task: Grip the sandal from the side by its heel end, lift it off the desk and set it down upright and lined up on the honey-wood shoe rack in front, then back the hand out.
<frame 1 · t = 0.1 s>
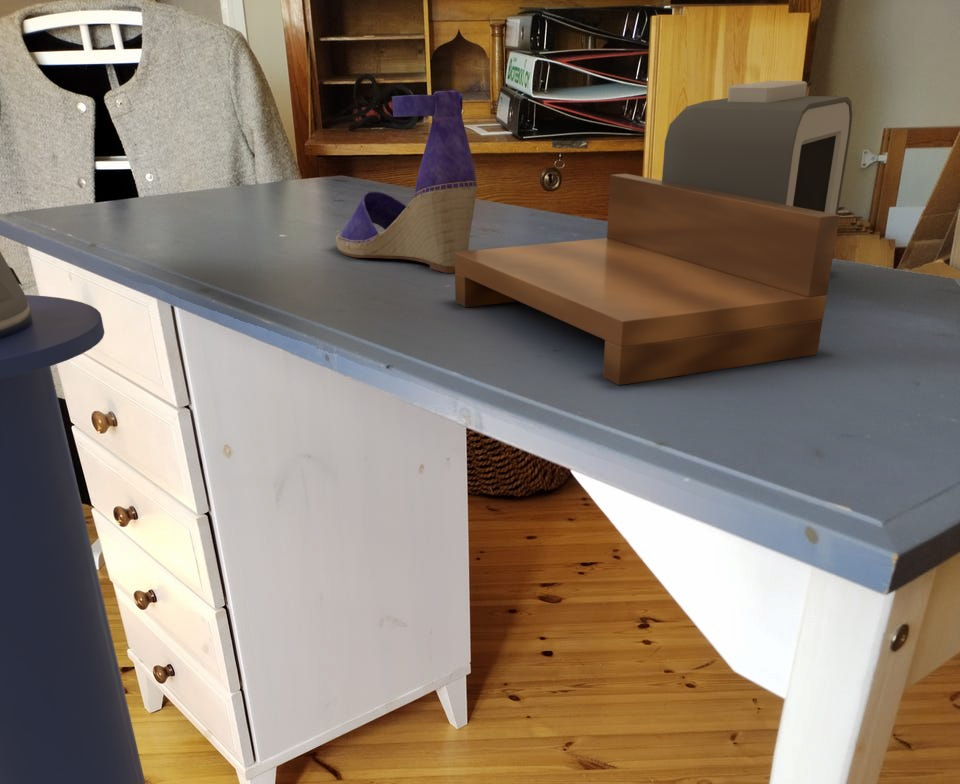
shoe rack: (619, 326, 77), on the table
alarm clock: (738, 283, 91), on the table
sandal: (402, 260, 101), on the table
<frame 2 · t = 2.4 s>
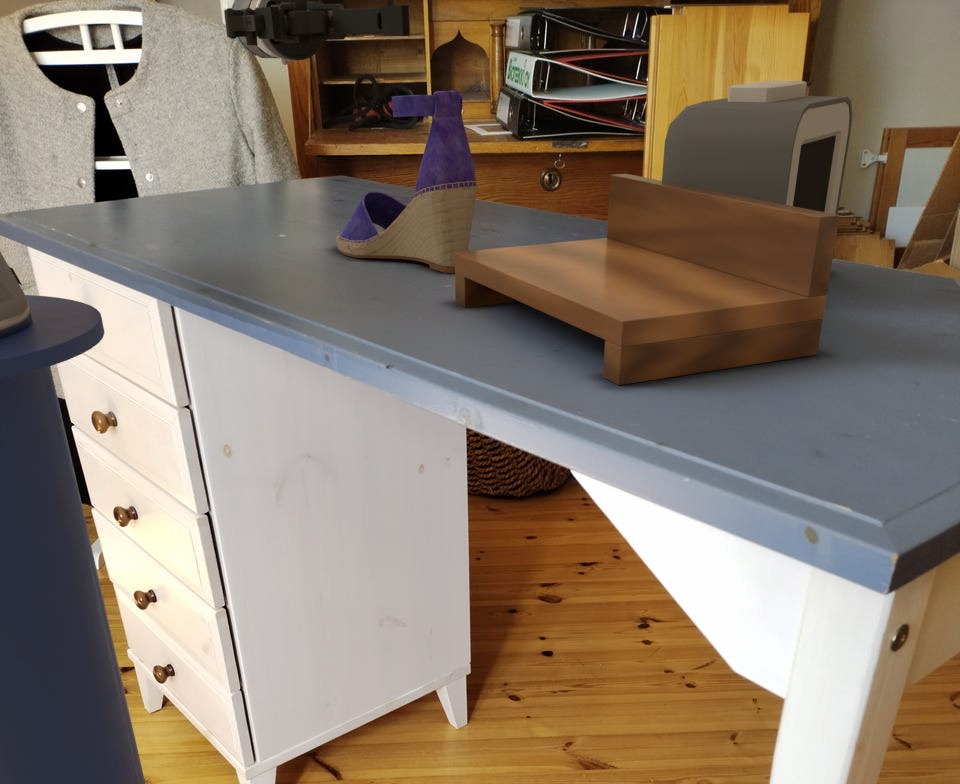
hand: (342, 21, 102), 20 cm above the table, tool horizontal, fingers open, 13 cm apart
nothing on the table moved.
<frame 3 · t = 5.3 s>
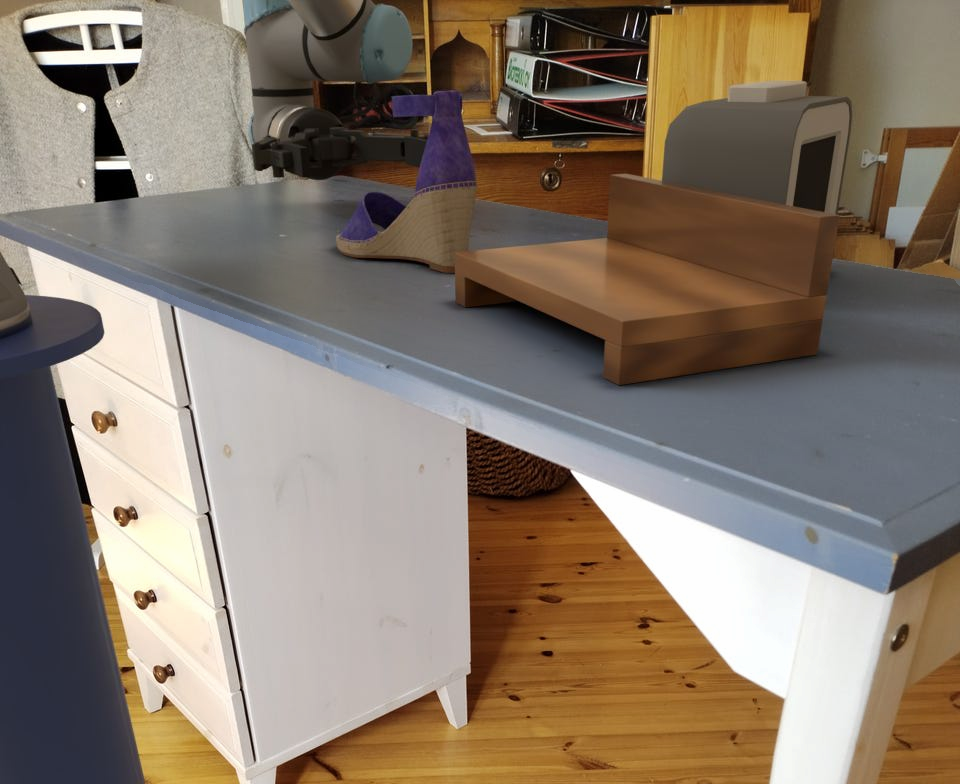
hand: (369, 159, 104), 8 cm above the table, tool horizontal, fingers open, 13 cm apart
nothing on the table moved.
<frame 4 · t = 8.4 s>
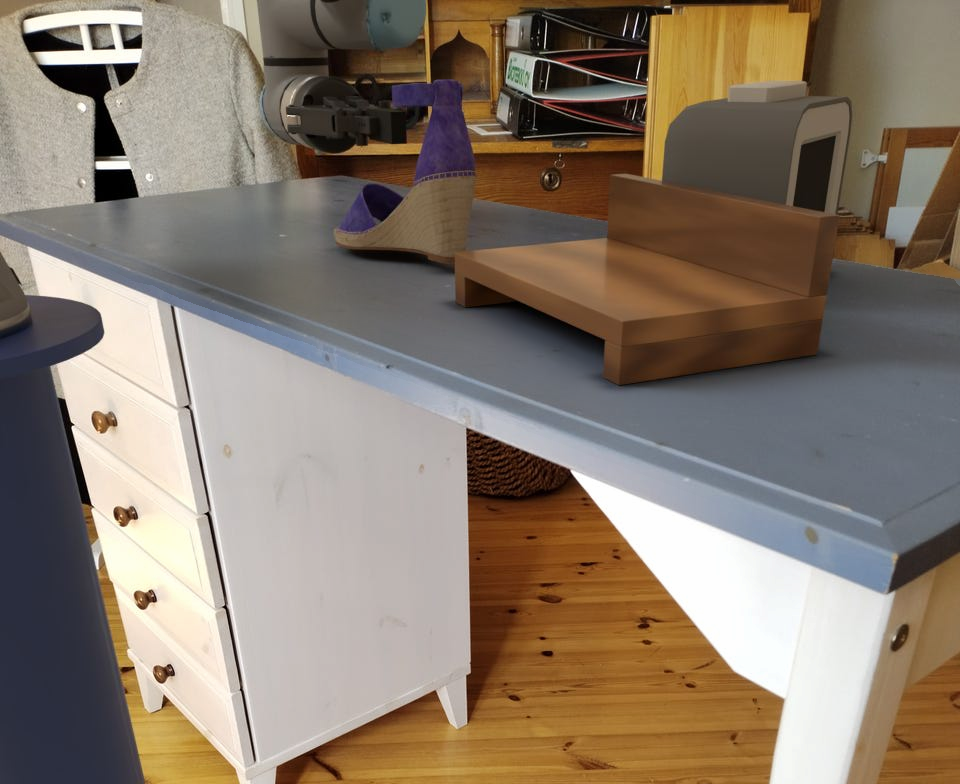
hand: (398, 127, 95), 12 cm above the table, tool horizontal, fingers closed
sandal: (400, 253, 101), point 1 cm above the table, touching gripper
everything else where it was.
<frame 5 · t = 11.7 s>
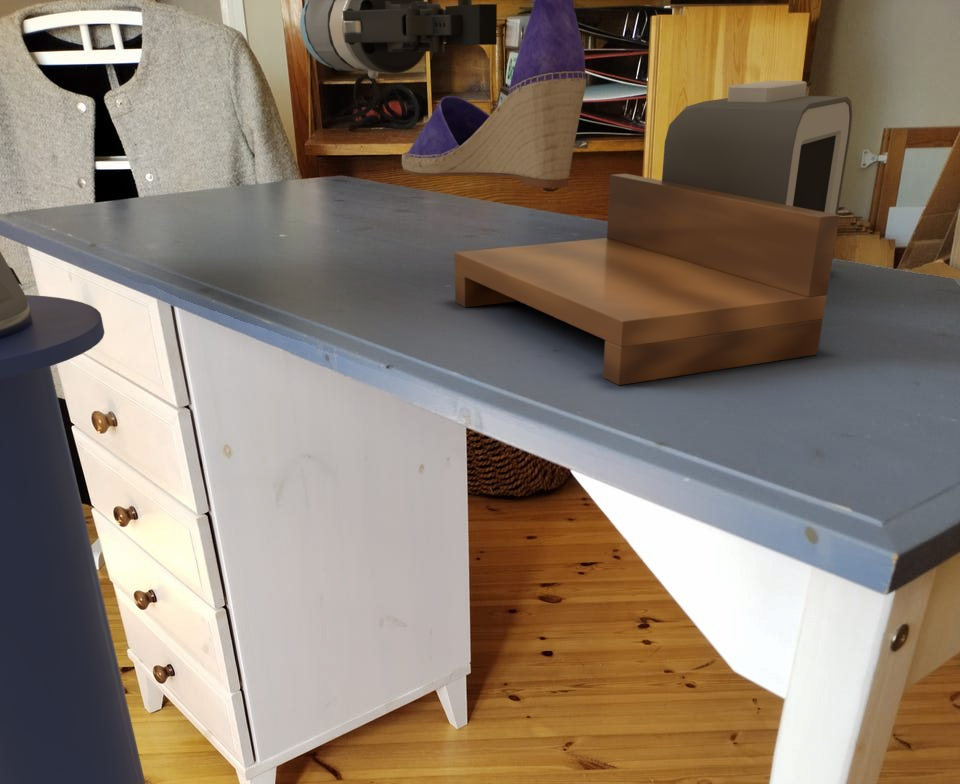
hand: (488, 24, 79), 20 cm above the table, tool horizontal, fingers closed
sandal: (485, 180, 85), point 9 cm above the table, touching gripper
everything else where it was.
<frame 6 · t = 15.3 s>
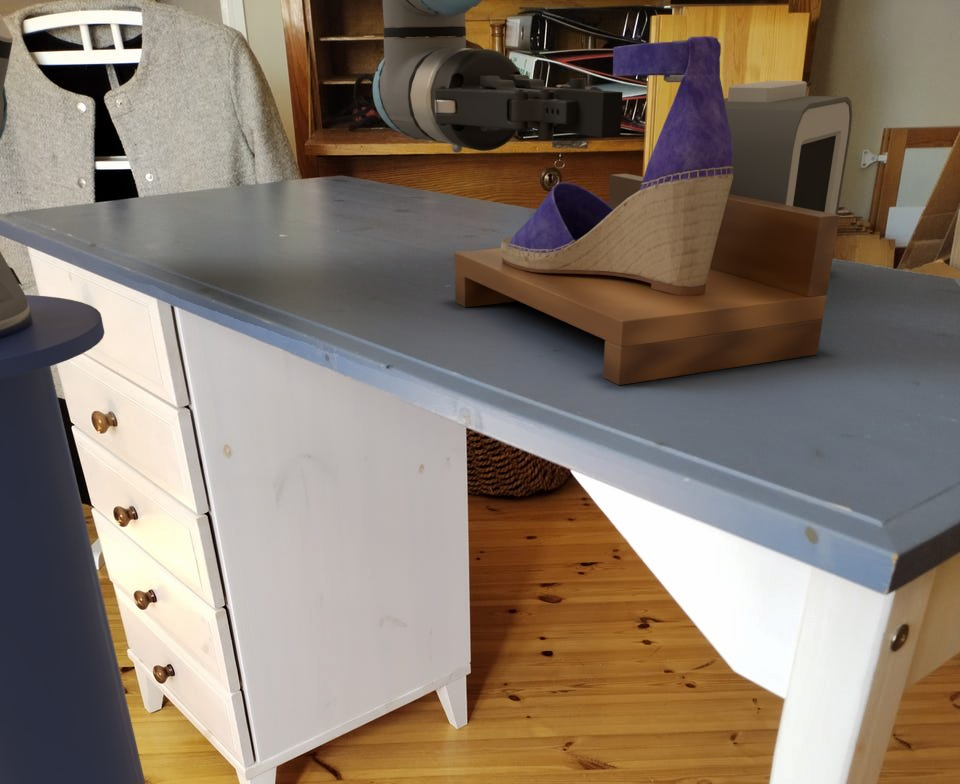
hand: (611, 114, 69), 14 cm above the table, tool horizontal, fingers closed
sandal: (601, 277, 74), point 4 cm above the table, touching shoe rack
everything else where it was.
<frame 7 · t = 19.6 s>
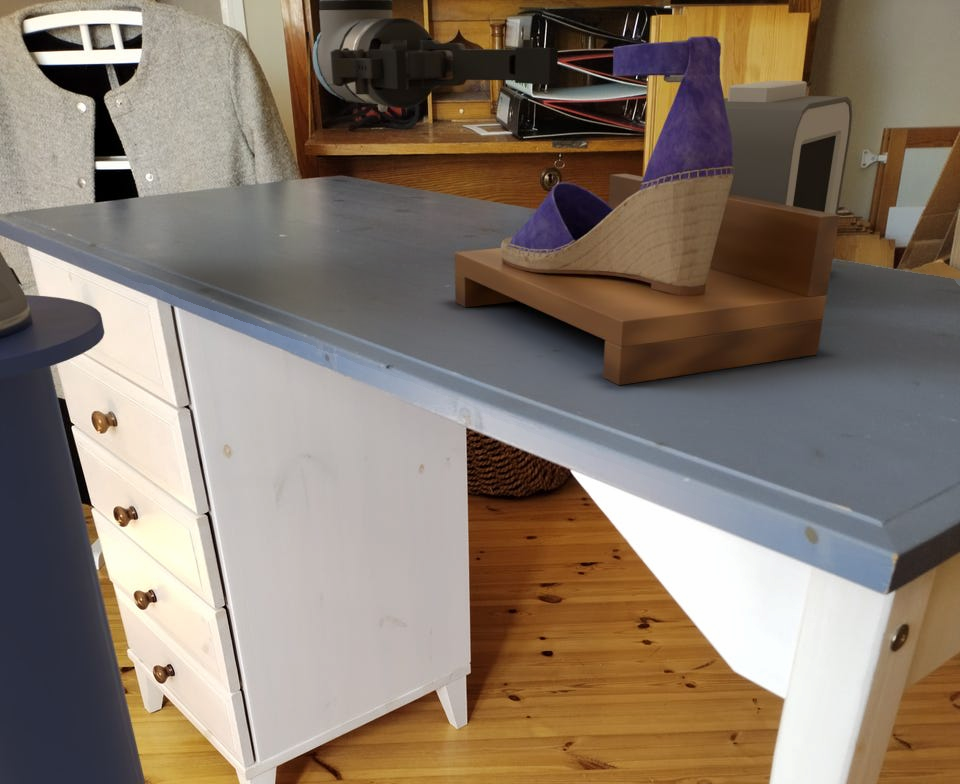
hand: (479, 68, 83), 17 cm above the table, tool horizontal, fingers open, 13 cm apart
nothing on the table moved.
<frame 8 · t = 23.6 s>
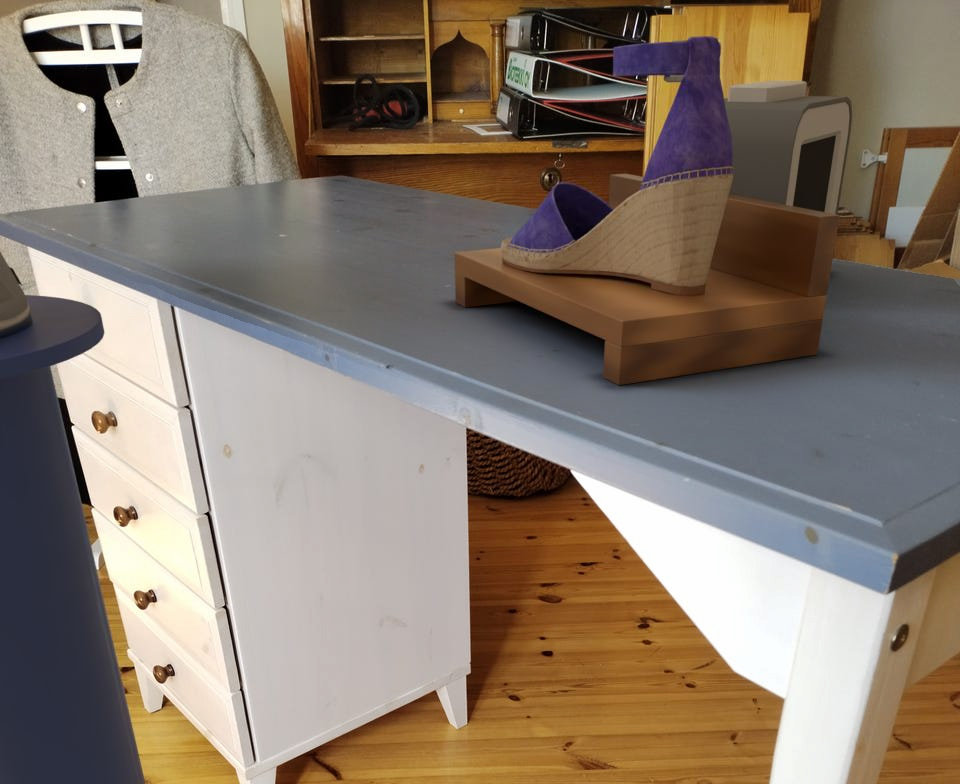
nothing on the table moved.
at the end: sandal inside the target area on the shoe rack (1.0 cm from its centre), point 3.8 cm above the shoe rack's base; sandal tilted 0°; the gripper is holding nothing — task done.
